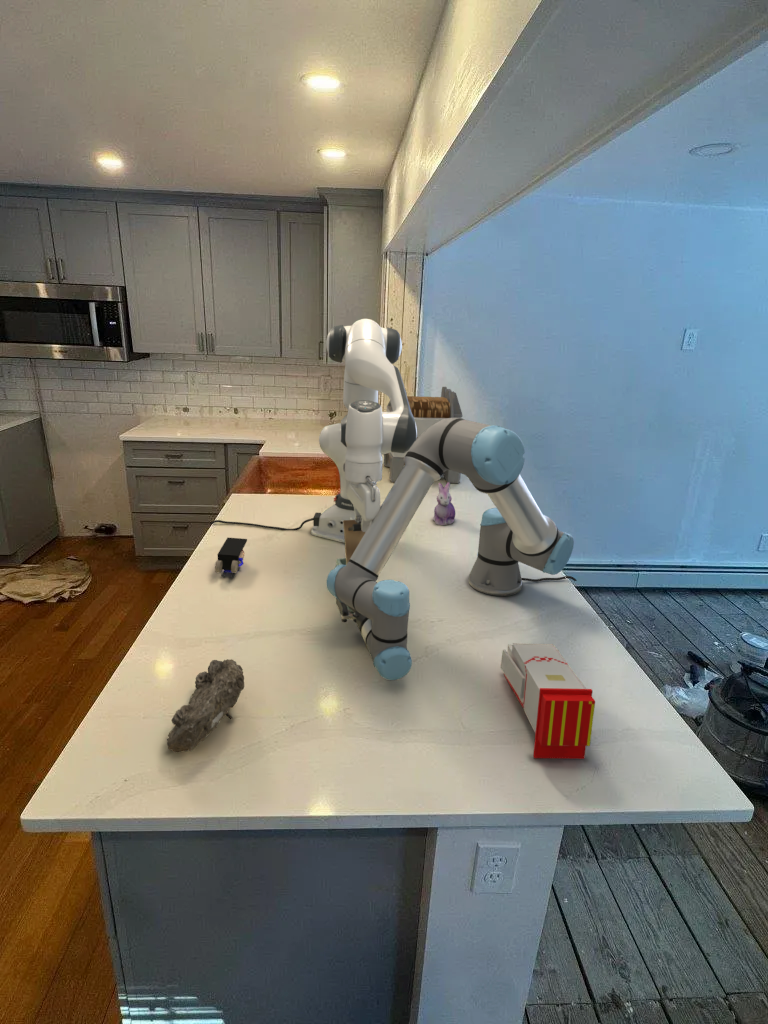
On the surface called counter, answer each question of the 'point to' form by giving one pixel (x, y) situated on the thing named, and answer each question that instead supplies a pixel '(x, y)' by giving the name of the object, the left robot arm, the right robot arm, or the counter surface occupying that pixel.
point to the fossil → (206, 705)
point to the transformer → (426, 426)
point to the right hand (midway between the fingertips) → (354, 582)
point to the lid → (351, 537)
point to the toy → (550, 699)
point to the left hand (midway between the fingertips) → (361, 526)
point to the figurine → (444, 506)
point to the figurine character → (230, 556)
